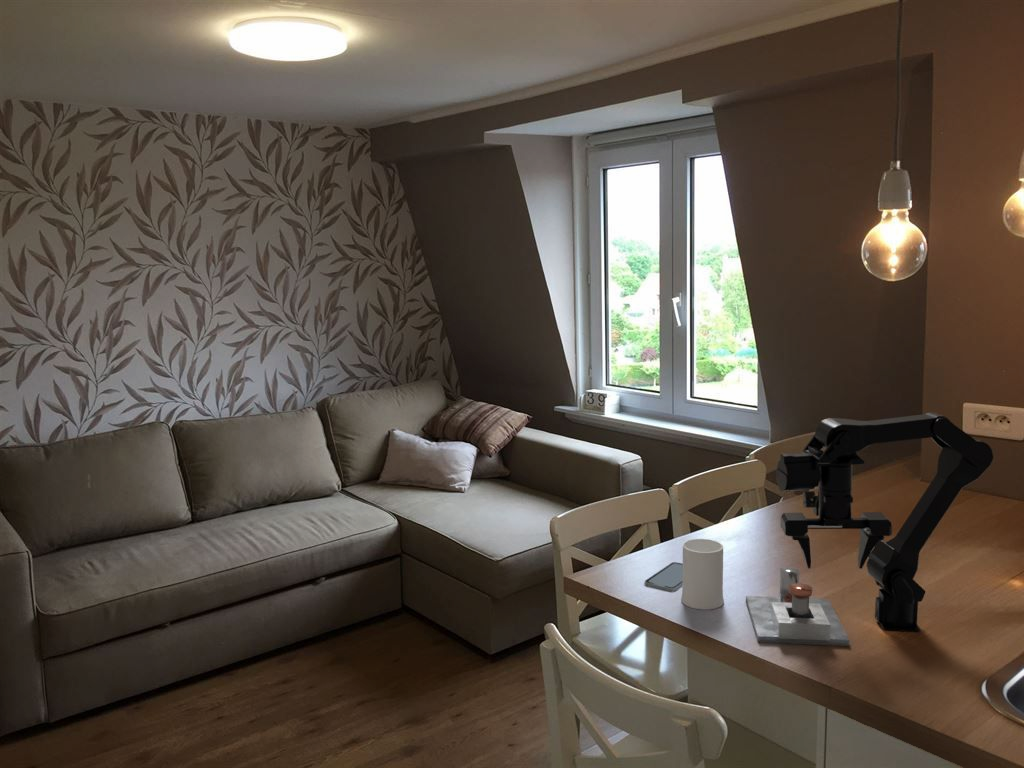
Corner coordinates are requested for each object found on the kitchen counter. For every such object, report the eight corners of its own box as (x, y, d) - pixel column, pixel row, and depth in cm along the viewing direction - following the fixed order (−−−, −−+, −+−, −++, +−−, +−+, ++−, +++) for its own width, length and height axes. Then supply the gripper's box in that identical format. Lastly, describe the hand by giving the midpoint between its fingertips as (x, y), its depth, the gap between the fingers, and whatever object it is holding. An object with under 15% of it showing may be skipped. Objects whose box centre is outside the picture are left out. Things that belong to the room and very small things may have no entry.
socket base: (827, 604, 170) (828, 565, 169) (850, 647, 152) (851, 604, 151) (745, 601, 173) (746, 563, 171) (758, 643, 155) (759, 601, 153)
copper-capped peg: (808, 624, 159) (810, 583, 158) (813, 633, 155) (814, 592, 154) (786, 623, 160) (787, 583, 159) (790, 632, 156) (791, 591, 155)
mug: (696, 584, 182) (696, 531, 180) (734, 592, 177) (735, 537, 175) (674, 604, 172) (674, 548, 170) (715, 613, 168) (715, 555, 166)
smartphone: (703, 568, 190) (674, 589, 178) (703, 572, 190) (673, 593, 178) (673, 561, 194) (642, 581, 183) (673, 565, 195) (642, 586, 183)
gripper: (875, 474, 163) (874, 552, 165) (775, 476, 165) (775, 552, 168) (893, 491, 152) (891, 574, 154) (786, 492, 154) (785, 574, 157)
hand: (834, 567), depth 158 cm, fingers open, 9 cm apart
